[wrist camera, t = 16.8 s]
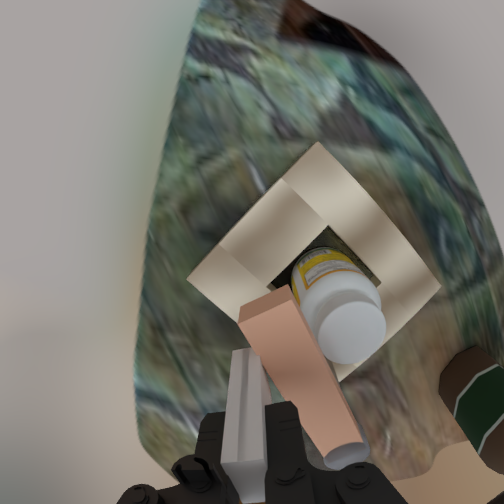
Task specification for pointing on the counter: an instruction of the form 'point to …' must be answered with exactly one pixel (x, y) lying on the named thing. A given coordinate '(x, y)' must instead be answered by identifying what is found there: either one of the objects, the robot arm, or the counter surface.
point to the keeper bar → (303, 375)
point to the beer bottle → (477, 402)
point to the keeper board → (303, 233)
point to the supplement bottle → (338, 305)
